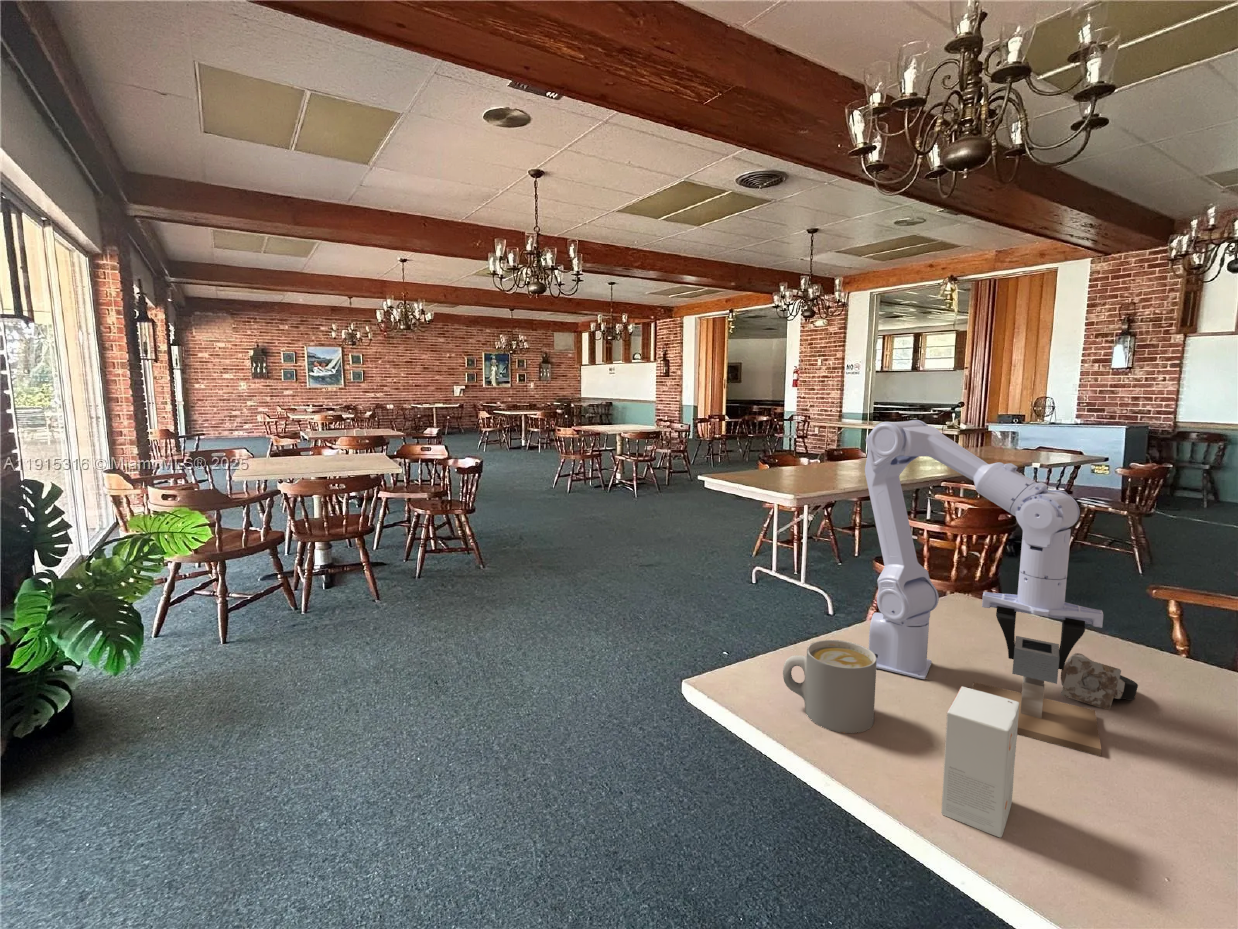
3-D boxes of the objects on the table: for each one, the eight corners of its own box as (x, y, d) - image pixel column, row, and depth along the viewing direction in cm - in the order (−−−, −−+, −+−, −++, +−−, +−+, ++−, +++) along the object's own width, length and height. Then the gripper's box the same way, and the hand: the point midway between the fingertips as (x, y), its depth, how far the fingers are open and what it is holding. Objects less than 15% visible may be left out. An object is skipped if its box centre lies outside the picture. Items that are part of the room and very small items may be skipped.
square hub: (1012, 673, 90) (1014, 648, 89) (1013, 660, 94) (1015, 635, 94) (1057, 683, 87) (1059, 657, 86) (1056, 669, 91) (1058, 644, 91)
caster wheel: (1115, 700, 102) (1146, 723, 92) (1039, 676, 105) (1061, 696, 96) (1127, 662, 101) (1159, 681, 92) (1050, 640, 105) (1073, 656, 95)
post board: (965, 720, 91) (968, 682, 91) (973, 687, 101) (975, 653, 100) (1100, 756, 82) (1104, 715, 81) (1094, 716, 92) (1098, 679, 91)
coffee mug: (881, 711, 94) (884, 650, 93) (862, 741, 86) (865, 675, 85) (797, 686, 102) (799, 629, 101) (773, 711, 94) (775, 650, 93)
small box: (954, 780, 78) (961, 684, 76) (1012, 802, 74) (1021, 701, 72) (939, 815, 71) (945, 711, 70) (1001, 840, 67) (1010, 731, 66)
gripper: (983, 572, 90) (976, 659, 91) (1108, 590, 81) (1098, 685, 83) (986, 560, 95) (980, 643, 97) (1104, 576, 87) (1095, 666, 89)
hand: (1035, 661), depth 90 cm, fingers closed on square hub, 5 cm apart
